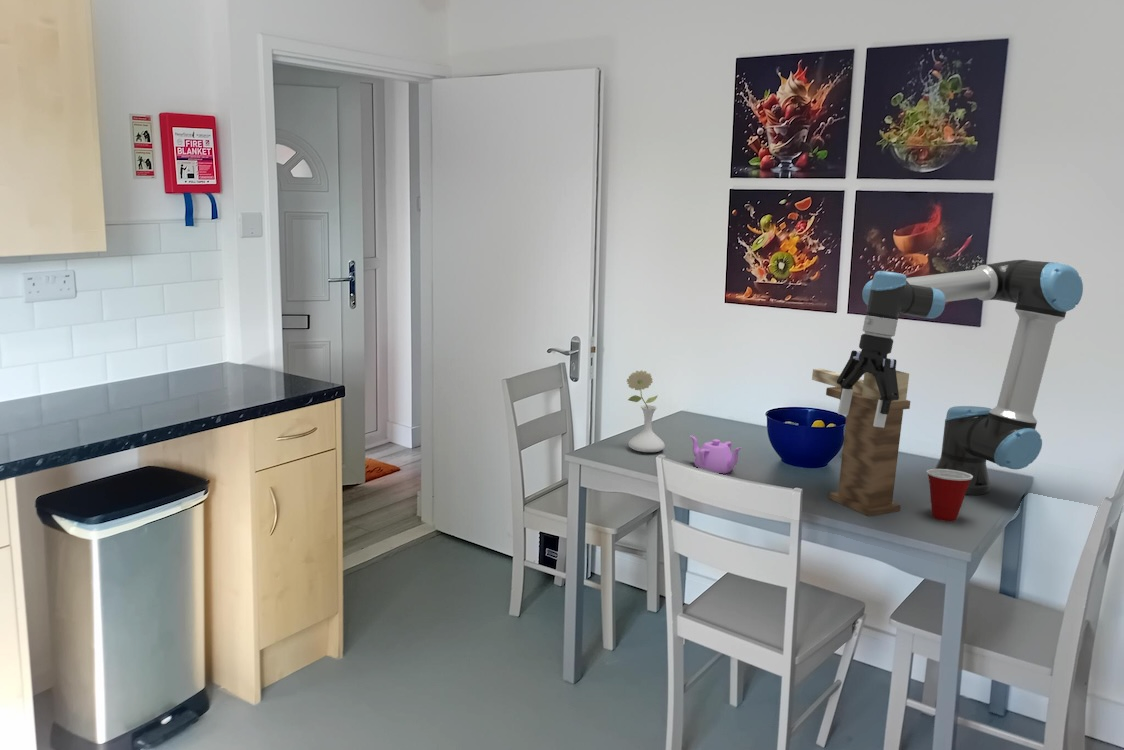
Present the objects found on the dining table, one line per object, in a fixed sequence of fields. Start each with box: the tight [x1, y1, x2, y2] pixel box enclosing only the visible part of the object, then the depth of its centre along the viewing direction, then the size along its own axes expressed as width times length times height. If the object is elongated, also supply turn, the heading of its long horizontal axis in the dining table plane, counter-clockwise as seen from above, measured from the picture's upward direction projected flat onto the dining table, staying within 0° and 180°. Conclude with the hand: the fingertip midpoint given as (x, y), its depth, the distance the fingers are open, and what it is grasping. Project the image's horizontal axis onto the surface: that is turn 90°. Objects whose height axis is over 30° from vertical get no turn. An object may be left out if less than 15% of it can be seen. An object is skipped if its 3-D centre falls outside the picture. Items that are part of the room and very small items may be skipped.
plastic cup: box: [926, 468, 973, 522], centre depth 222 cm, size 11×11×12 cm
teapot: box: [689, 434, 742, 475], centre depth 255 cm, size 12×14×9 cm
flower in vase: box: [626, 370, 666, 453], centre depth 270 cm, size 13×11×25 cm
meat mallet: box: [811, 368, 910, 402], centre depth 231 cm, size 28×8×7 cm, turn 27°
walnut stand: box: [825, 386, 911, 517], centre depth 230 cm, size 20×11×29 cm, turn 27°
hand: (860, 420), depth 216 cm, fingers open, 13 cm apart
